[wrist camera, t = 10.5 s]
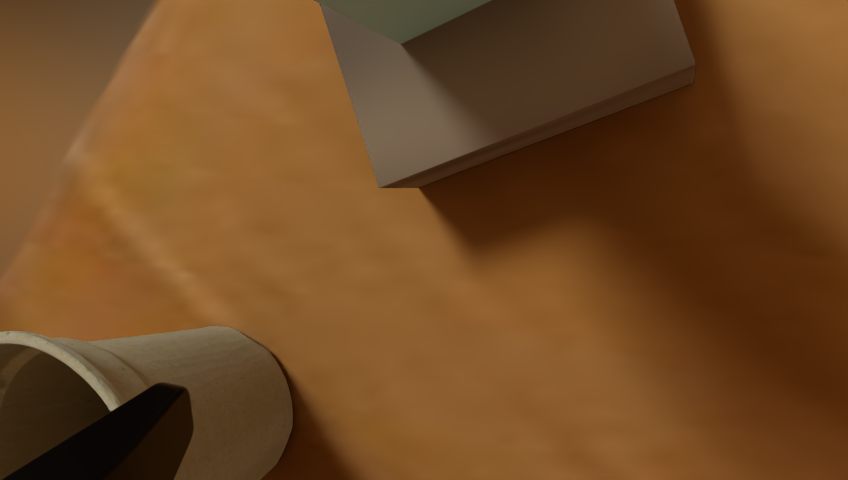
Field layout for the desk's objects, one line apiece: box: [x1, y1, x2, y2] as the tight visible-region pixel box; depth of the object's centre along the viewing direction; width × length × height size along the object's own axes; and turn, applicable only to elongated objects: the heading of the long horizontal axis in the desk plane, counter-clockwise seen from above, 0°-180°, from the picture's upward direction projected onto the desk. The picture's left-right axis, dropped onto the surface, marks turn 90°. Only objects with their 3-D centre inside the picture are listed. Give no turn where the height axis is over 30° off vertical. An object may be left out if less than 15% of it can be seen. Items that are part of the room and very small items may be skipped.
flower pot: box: [0, 326, 293, 480], centre depth 21 cm, size 9×9×9 cm
